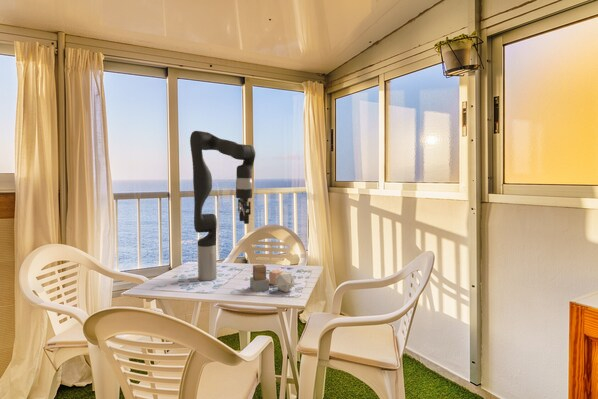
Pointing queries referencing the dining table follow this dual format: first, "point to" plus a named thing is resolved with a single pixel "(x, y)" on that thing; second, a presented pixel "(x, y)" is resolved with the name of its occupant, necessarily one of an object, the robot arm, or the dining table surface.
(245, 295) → the dining table surface
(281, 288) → the die
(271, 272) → the terracotta block
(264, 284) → the slate block
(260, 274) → the walnut block
